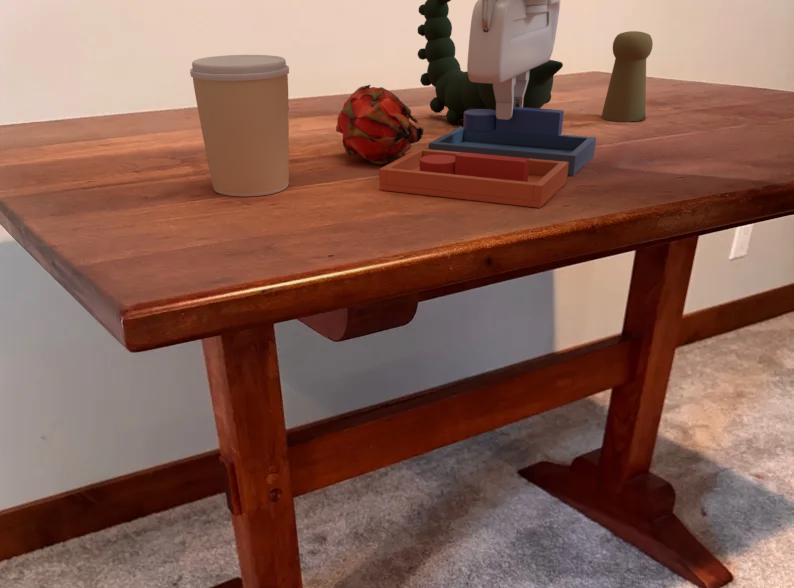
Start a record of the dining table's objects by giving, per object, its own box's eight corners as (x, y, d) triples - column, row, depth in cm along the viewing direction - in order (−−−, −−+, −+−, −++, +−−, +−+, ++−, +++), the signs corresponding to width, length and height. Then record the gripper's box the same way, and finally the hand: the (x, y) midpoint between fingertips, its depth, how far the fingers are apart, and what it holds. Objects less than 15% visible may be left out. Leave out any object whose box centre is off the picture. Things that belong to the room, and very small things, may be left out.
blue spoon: (564, 131, 89) (566, 108, 88) (555, 138, 86) (557, 114, 85) (470, 123, 94) (471, 101, 92) (458, 130, 90) (459, 107, 89)
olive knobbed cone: (623, 123, 109) (635, 34, 103) (592, 116, 113) (601, 31, 108) (654, 118, 111) (667, 32, 106) (622, 112, 116) (633, 28, 110)
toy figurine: (406, 130, 114) (533, 142, 96) (398, -19, 106) (535, -37, 88) (456, 122, 119) (585, 132, 101) (452, -22, 111) (593, -39, 92)
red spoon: (530, 181, 80) (533, 155, 79) (519, 190, 77) (521, 164, 76) (428, 170, 85) (428, 146, 83) (413, 179, 81) (413, 154, 80)
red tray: (566, 182, 82) (568, 161, 81) (540, 208, 74) (542, 185, 73) (418, 167, 88) (418, 148, 87) (379, 190, 80) (379, 168, 79)
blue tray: (594, 155, 92) (596, 137, 91) (573, 175, 84) (575, 155, 83) (459, 144, 98) (459, 126, 97) (428, 162, 90) (428, 142, 89)
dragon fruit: (356, 160, 98) (407, 197, 90) (305, 125, 92) (355, 161, 84) (395, 99, 96) (450, 131, 88) (346, 59, 90) (401, 89, 82)
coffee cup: (308, 177, 85) (301, 54, 79) (278, 201, 77) (267, 67, 71) (226, 173, 87) (213, 53, 81) (189, 196, 79) (171, 65, 73)
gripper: (519, -21, 73) (508, 136, 80) (572, -27, 89) (559, 103, 96) (454, -21, 75) (449, 131, 82) (517, -28, 91) (508, 100, 98)
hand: (509, 116), depth 89 cm, fingers closed on blue spoon, 1 cm apart
